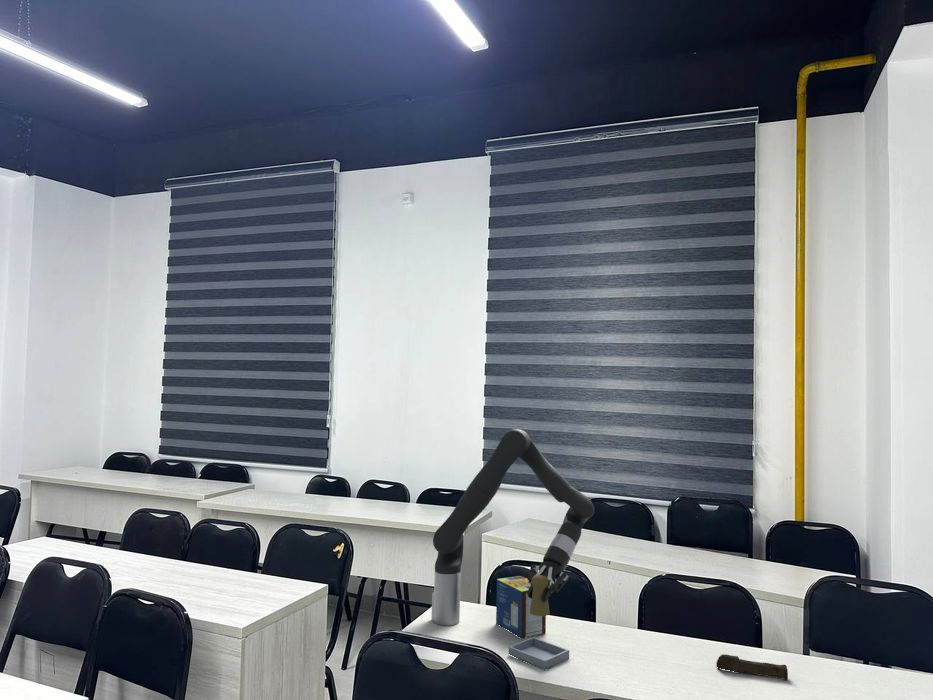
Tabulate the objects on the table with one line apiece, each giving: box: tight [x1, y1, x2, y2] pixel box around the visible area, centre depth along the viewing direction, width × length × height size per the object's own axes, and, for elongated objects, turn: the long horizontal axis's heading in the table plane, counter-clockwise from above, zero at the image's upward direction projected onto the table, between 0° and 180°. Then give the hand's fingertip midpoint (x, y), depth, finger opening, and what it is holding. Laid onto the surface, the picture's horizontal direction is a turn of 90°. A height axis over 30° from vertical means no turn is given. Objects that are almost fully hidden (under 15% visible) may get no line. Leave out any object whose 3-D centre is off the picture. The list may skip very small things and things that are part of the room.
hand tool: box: [716, 653, 789, 681], centre depth 182 cm, size 19×4×5 cm, turn 70°
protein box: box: [495, 575, 547, 639], centre depth 213 cm, size 10×15×16 cm
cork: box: [530, 575, 550, 617], centre depth 191 cm, size 6×6×11 cm
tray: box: [508, 636, 570, 671], centre depth 189 cm, size 14×12×3 cm
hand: (535, 598), depth 189 cm, fingers closed on cork, 4 cm apart
